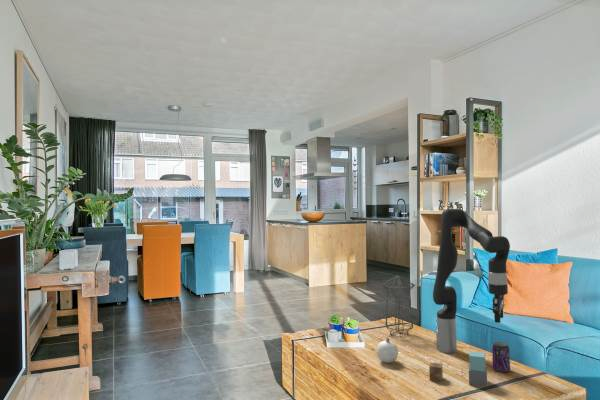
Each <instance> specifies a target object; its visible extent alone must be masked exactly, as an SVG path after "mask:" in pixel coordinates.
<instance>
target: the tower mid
mask: <svg viewBox="0 0 600 400" xmlns="http://www.w3.org/2000/svg"><path fill="white" fill-rule="evenodd" d="M468 357H469V365H470V370H472V371H481V372H486V371H485V367H486V354H485V352H479V351H472V350H471V351H469V356H468Z"/></svg>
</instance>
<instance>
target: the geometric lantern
mask: <svg viewBox="0 0 600 400" xmlns="http://www.w3.org/2000/svg"><path fill="white" fill-rule="evenodd" d="M387 283H388V284H387ZM396 283H397V285H398V287H396V288H395V289H394V286H395V284H396ZM408 283H409V284H408ZM380 286H381V287H383V288H384V289H385V290H386V298H385V299H386V307H385V311H386V312H385V328H386V329H387V330H388V331H389V335H390V336H393V337H398V338H403V337H405V336H408V335H409V332H410V331H411V330H412V329H414V324H413V323H414V321H413V313H412V303H411V302H412V301H411V296H410V291H411V290H412V289H413V288H414V287H415V286H416V284H414V283H413V282H411V281H409V280H407V279H405V278H403V277H402V276H400V275H395V276H394V277H392V278H390V279H388V280H387V281H385V282H383V283H382V284H380ZM400 289H401V290H400ZM398 290H400V292H399V294H397V293H396V291H398ZM402 292H404V293H403V295H401V293H402ZM390 293H392V296H389V295H390ZM406 293H407V294H408V296H405V294H406ZM392 297H395V299H392ZM397 297H398V298H397ZM400 297H401V298H400ZM403 298H405V299H403ZM388 300H391V301H395V302H396V303H398V305H395V313H394V315H395V316H394V319H395V320H394V322H393V323H390V324H388V304H389V303H388ZM407 300H409V311H410V324H405V323H404V316H403V305H402V301H407ZM393 325H395V328H392V327H390V326H393ZM400 325H401V326H402V328H400ZM404 326H408V327H409V328H406V329H405V328H404ZM394 334H395V335H394ZM396 334H399V335H396Z"/></svg>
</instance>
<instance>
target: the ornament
mask: <svg viewBox="0 0 600 400" xmlns="http://www.w3.org/2000/svg"><path fill="white" fill-rule="evenodd" d="M398 354H399V349H398V347H397V345H396V343H394V341H392V340H390V338H389V337H386V339H385V340H382V341H380V342H379V343H378V344H377V347H376V355H377V358H378V359H379V360H380V361H381V362H383V363H386V364H390V363H393V362H395V361H396V360H397V358H398V356H399V355H398Z"/></svg>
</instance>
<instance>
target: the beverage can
mask: <svg viewBox="0 0 600 400" xmlns="http://www.w3.org/2000/svg"><path fill="white" fill-rule="evenodd" d="M491 355H492V356H491V357H492V369H493V370H495V371H496V372H499V373H507V372H510V371H511V358H510V357H511V356H510V348H509V344H508V343H507V342H504V341H494V342H492V347H491Z"/></svg>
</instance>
